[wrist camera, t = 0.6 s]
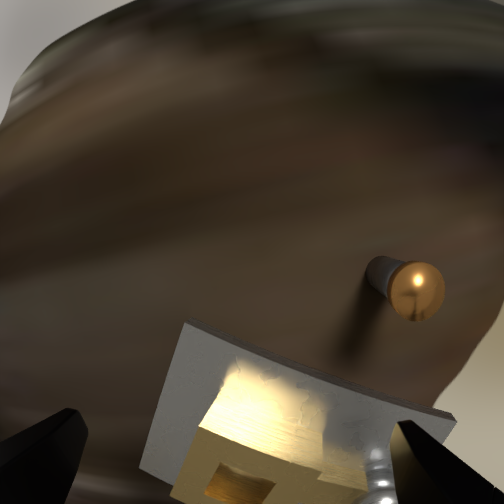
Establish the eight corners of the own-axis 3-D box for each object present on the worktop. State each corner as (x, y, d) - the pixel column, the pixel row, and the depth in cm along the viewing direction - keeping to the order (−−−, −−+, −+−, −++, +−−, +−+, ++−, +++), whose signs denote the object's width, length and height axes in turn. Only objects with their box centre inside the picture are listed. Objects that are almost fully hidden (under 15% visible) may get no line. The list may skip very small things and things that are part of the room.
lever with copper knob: (405, 261, 20) (453, 275, 12) (390, 297, 21) (430, 328, 13) (371, 247, 21) (405, 253, 13) (357, 283, 21) (382, 309, 13)
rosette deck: (451, 412, 20) (478, 452, 14) (354, 531, 22) (356, 573, 16) (192, 317, 23) (155, 342, 17) (145, 459, 25) (116, 495, 19)
